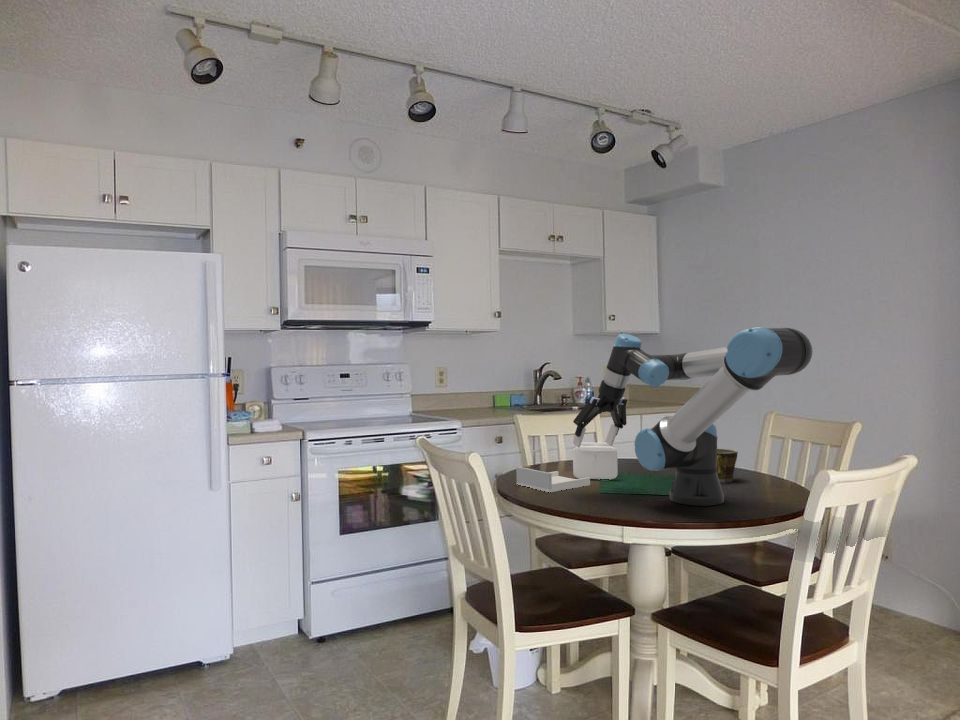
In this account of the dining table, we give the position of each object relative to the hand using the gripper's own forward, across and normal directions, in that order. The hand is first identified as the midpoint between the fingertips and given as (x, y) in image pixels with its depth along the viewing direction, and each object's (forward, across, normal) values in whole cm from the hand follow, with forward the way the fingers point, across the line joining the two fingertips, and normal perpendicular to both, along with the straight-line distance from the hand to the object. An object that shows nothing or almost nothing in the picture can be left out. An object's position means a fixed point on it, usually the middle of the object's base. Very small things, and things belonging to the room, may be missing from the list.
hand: (592, 444), depth 217 cm
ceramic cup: (+5, -45, +18) cm, 48 cm away
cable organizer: (+19, -17, -9) cm, 27 cm away
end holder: (+20, +3, -8) cm, 21 cm away
